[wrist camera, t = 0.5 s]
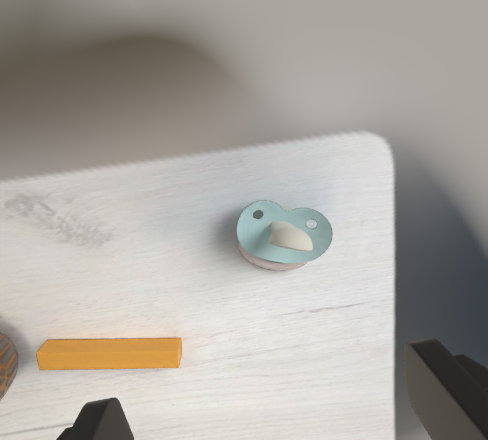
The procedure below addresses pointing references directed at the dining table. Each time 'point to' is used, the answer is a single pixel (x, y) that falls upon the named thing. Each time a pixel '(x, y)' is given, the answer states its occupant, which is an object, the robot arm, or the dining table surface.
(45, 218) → the dining table surface
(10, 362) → the vase
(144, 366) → the wooden stick
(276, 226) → the pacifier
